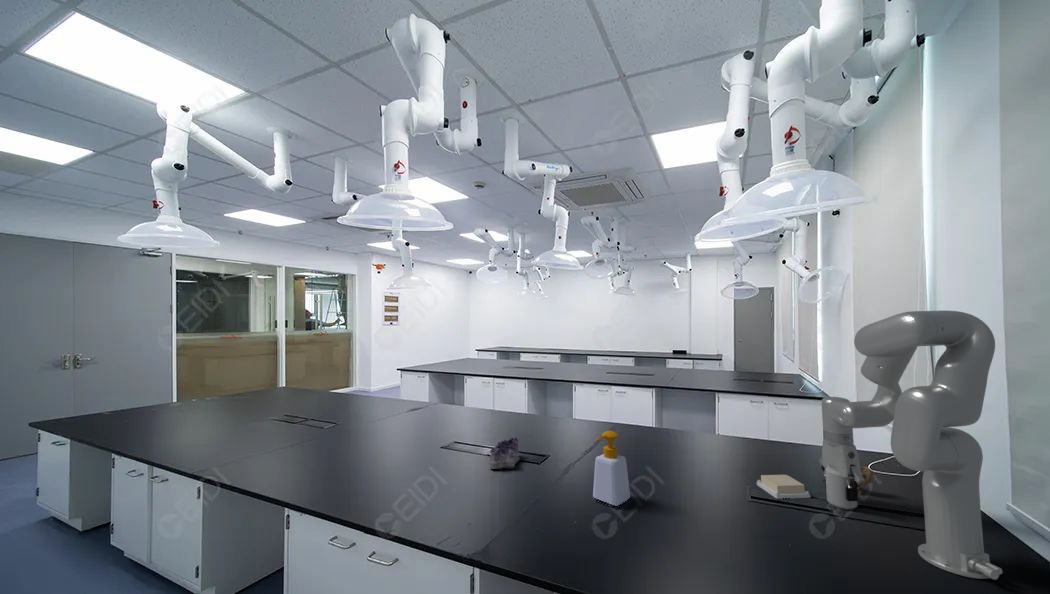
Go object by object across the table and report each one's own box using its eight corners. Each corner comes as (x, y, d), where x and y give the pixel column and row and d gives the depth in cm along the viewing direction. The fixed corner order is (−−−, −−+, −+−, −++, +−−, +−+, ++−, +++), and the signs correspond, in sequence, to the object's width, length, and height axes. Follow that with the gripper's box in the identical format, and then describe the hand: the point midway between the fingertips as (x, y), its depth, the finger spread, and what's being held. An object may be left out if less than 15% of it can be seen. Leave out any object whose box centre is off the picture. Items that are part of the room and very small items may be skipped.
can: (859, 513, 121) (857, 472, 122) (828, 507, 125) (826, 467, 125) (855, 503, 127) (852, 464, 128) (825, 498, 131) (823, 460, 132)
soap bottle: (583, 504, 129) (581, 434, 130) (607, 491, 139) (605, 425, 140) (608, 514, 123) (606, 440, 124) (632, 499, 132) (630, 430, 134)
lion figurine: (878, 495, 133) (876, 467, 133) (872, 499, 130) (870, 471, 130) (825, 480, 145) (824, 455, 145) (819, 484, 142) (817, 458, 142)
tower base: (810, 498, 131) (809, 486, 132) (776, 498, 131) (776, 487, 131) (787, 484, 142) (787, 473, 143) (756, 484, 142) (756, 474, 142)
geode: (497, 454, 179) (500, 431, 180) (523, 459, 177) (526, 436, 177) (483, 469, 160) (487, 444, 160) (511, 475, 157) (515, 449, 158)
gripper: (874, 445, 119) (877, 507, 118) (828, 429, 136) (831, 483, 135) (848, 446, 118) (852, 508, 117) (806, 430, 136) (809, 483, 135)
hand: (841, 494), depth 126 cm, fingers closed on can, 7 cm apart
